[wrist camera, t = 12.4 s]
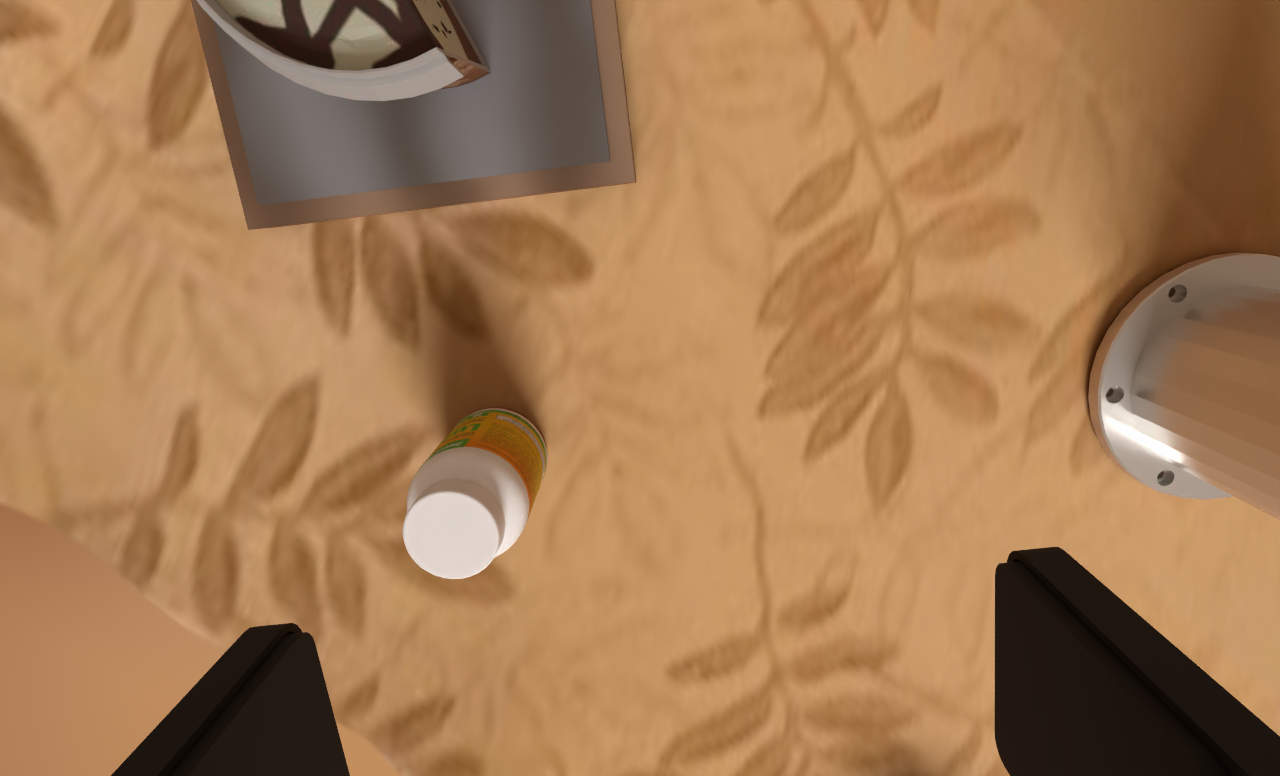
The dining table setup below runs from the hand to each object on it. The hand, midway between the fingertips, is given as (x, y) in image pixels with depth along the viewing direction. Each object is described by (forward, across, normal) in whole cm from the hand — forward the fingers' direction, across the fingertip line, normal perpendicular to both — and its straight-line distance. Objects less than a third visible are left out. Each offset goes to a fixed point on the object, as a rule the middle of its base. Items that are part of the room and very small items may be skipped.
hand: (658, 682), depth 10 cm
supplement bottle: (+28, +9, +6) cm, 30 cm away
